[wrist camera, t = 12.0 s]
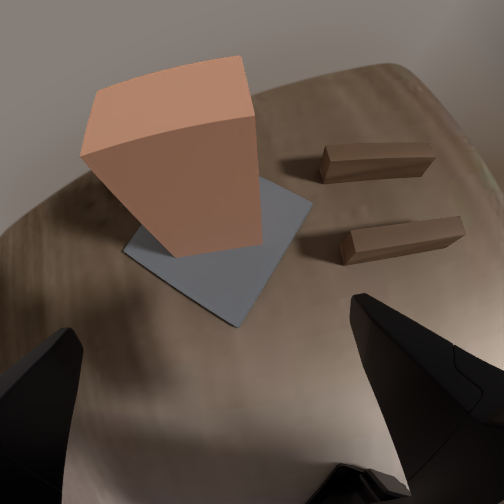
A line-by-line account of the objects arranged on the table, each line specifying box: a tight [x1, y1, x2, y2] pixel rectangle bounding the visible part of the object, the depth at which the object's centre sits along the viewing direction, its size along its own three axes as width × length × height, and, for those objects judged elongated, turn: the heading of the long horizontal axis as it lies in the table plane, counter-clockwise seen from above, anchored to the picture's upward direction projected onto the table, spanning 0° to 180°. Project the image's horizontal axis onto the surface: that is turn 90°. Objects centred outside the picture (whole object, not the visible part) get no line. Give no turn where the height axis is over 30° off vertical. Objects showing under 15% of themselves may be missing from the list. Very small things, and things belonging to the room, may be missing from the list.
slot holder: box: [319, 143, 466, 266], centre depth 19 cm, size 8×9×3 cm
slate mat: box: [124, 176, 313, 328], centre depth 20 cm, size 10×10×1 cm
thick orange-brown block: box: [80, 55, 263, 258], centre depth 15 cm, size 4×6×12 cm, turn 98°
